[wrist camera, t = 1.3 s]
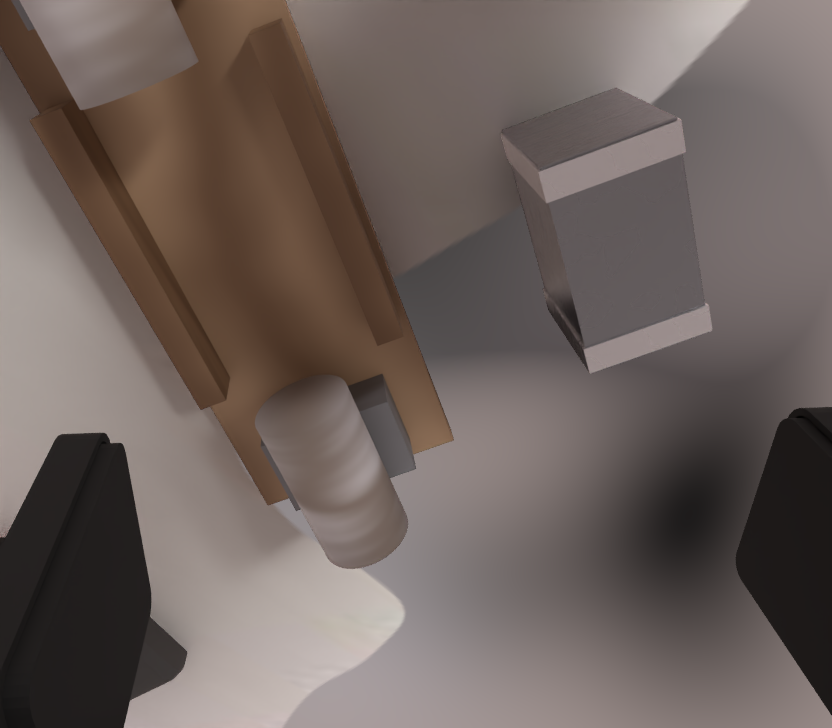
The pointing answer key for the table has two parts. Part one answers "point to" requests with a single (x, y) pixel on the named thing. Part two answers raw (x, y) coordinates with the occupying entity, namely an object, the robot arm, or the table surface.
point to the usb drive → (157, 660)
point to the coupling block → (611, 225)
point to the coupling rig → (240, 242)
